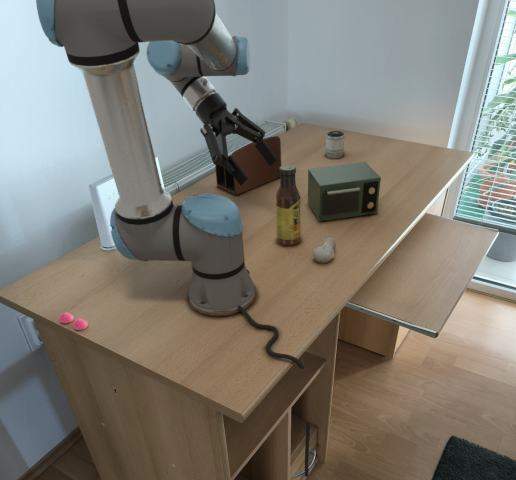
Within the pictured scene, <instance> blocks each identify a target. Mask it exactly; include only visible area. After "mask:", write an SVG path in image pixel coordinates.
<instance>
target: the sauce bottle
mask: <svg viewBox="0 0 516 480" xmlns="http://www.w3.org/2000/svg"><path fill="white" fill-rule="evenodd" d="M279 172H280V179H279V180H280V182H279V183H280V184H279V188H278V189H277V192H276V193H275V201H276V202H275V215H276V217H275V218H276V222H275V223H276V237H277V242H278V243H279V244H280V245H282V246H289V247H290V246H295V245H296V244H298V243H299V242H300V240H301V195H300V193H299V190H298V187H297V182H296V173H297V167H296V166H295V165H294V164H281V166H280V168H279Z"/></svg>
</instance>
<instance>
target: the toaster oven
mask: <svg viewBox="0 0 516 480" xmlns="http://www.w3.org/2000/svg"><path fill="white" fill-rule="evenodd" d="M381 181H382V178H381V176H380V175H379V173H377V172H376V170H374V169H373V168H372V167H371V166H370V165H369V163H367V161H358V162H352V163H351V162H350V163H345V164H337V165H336V164H335V165H329V166H322V167H314V168H313V167H312V168H308V169H307V204H308V206H309V208H310V209H311V211H312V212H313V214H314V215H315V217H316V219H317V220H318V222H321V223H325V222H327V221H331V220H337V219H345V218H352V217H358V216H359V217H361V216H366V215H368V216H373V215H375V214H378V207H379V199H380V189H381Z"/></svg>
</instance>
